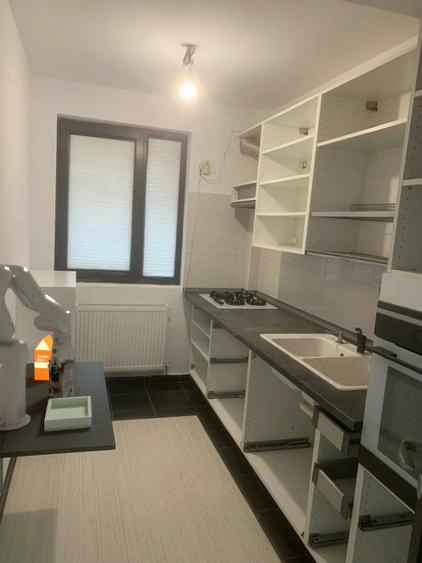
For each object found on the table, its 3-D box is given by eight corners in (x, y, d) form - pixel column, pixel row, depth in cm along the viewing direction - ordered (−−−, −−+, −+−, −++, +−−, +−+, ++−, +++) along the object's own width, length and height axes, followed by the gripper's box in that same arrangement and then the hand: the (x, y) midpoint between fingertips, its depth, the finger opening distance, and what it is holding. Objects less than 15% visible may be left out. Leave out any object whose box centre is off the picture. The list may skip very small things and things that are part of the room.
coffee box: (47, 396, 175) (47, 359, 173) (59, 391, 181) (59, 356, 179) (62, 401, 171) (63, 363, 169) (74, 396, 176) (75, 359, 175)
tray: (91, 427, 149) (91, 416, 148) (44, 431, 144) (44, 420, 143) (90, 405, 168) (90, 396, 167) (48, 408, 163) (48, 398, 162)
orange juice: (57, 374, 203) (57, 334, 201) (50, 380, 194) (51, 339, 192) (41, 373, 203) (41, 334, 201) (34, 379, 194) (34, 338, 192)
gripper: (55, 345, 164) (56, 386, 166) (81, 335, 180) (81, 372, 182) (40, 343, 166) (41, 383, 168) (67, 333, 183) (67, 370, 185)
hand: (62, 377), depth 175 cm, fingers open, 9 cm apart
